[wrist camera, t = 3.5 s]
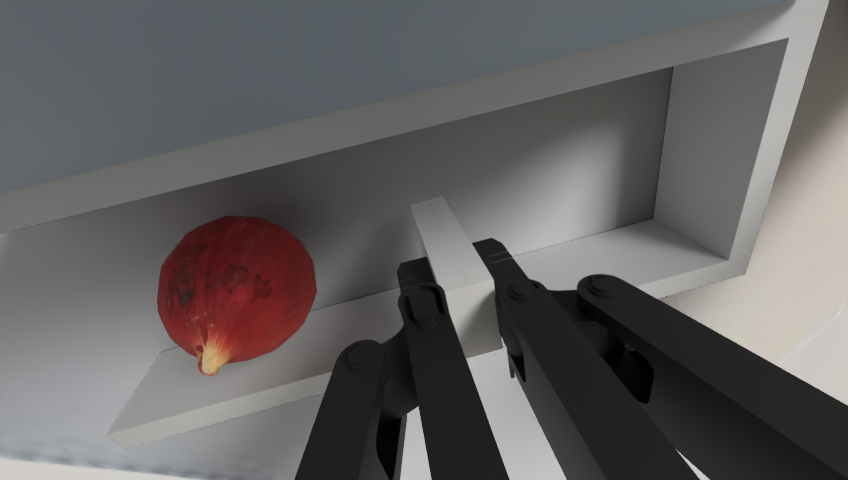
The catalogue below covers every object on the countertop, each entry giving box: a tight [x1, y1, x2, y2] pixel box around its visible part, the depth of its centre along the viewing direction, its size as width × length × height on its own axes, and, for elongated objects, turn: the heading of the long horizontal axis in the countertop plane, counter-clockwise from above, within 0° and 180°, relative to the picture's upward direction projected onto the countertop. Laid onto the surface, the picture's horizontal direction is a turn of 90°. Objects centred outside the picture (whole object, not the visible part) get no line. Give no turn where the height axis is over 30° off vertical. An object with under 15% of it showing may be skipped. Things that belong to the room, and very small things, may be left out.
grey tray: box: [0, 0, 829, 450], centre depth 16 cm, size 12×31×5 cm, turn 102°
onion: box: [157, 216, 317, 376], centre depth 15 cm, size 6×6×8 cm
